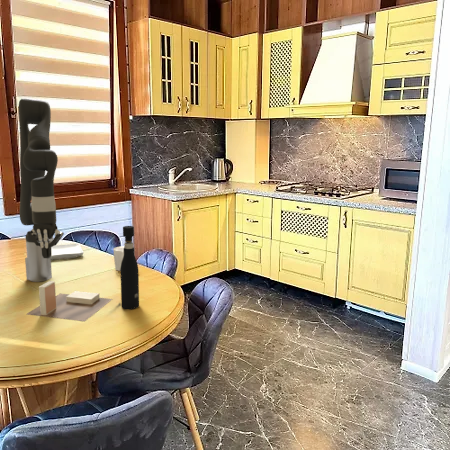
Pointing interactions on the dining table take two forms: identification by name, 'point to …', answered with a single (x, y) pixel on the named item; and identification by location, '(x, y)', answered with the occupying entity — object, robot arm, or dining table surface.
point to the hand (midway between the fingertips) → (47, 257)
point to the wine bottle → (129, 273)
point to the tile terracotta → (47, 297)
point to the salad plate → (66, 251)
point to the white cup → (118, 257)
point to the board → (72, 309)
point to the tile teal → (82, 297)
